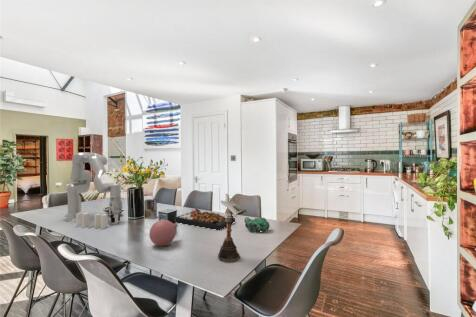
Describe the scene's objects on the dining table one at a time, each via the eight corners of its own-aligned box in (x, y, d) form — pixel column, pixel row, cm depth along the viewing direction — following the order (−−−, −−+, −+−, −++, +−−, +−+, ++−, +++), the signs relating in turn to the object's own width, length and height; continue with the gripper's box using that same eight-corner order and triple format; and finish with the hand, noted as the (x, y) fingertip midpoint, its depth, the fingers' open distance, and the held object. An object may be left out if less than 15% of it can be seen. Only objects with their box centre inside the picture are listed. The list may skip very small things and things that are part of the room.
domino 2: (81, 227, 179) (81, 214, 179) (87, 225, 184) (87, 212, 184) (83, 227, 179) (83, 214, 178) (89, 225, 183) (89, 212, 183)
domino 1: (75, 226, 180) (75, 213, 180) (81, 225, 185) (81, 212, 185) (77, 227, 180) (77, 213, 180) (83, 225, 185) (83, 212, 185)
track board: (71, 228, 178) (71, 227, 178) (81, 225, 187) (81, 224, 187) (102, 231, 173) (102, 230, 173) (111, 227, 182) (111, 226, 182)
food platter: (173, 223, 197) (173, 210, 197) (192, 216, 219) (192, 205, 219) (218, 231, 175) (219, 217, 175) (235, 223, 197) (235, 211, 197)
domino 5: (112, 225, 188) (112, 212, 188) (116, 223, 193) (116, 211, 193) (114, 225, 187) (114, 212, 187) (118, 223, 192) (118, 211, 192)
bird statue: (252, 257, 129) (253, 192, 129) (241, 266, 118) (241, 196, 118) (227, 250, 137) (227, 190, 137) (213, 259, 126) (214, 193, 126)
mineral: (249, 235, 164) (249, 221, 164) (241, 229, 179) (241, 216, 179) (272, 232, 171) (273, 219, 171) (262, 226, 186) (262, 214, 186)
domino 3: (94, 228, 177) (94, 215, 177) (99, 226, 182) (99, 213, 181) (96, 228, 176) (96, 215, 176) (101, 226, 181) (101, 213, 181)
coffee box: (157, 217, 214) (157, 199, 213) (153, 219, 207) (154, 200, 207) (147, 216, 214) (147, 199, 214) (143, 218, 208) (144, 200, 208)
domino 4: (100, 228, 175) (100, 215, 175) (105, 227, 180) (105, 213, 180) (102, 229, 175) (102, 215, 175) (107, 227, 180) (107, 214, 180)
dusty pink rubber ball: (186, 242, 151) (186, 218, 151) (159, 252, 135) (160, 225, 135) (170, 237, 160) (170, 214, 160) (144, 246, 144) (144, 220, 144)
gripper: (111, 201, 181) (111, 224, 181) (126, 197, 198) (126, 219, 198) (103, 200, 182) (103, 224, 183) (118, 197, 199) (118, 218, 199)
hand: (115, 221), depth 190 cm, fingers closed on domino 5, 4 cm apart
